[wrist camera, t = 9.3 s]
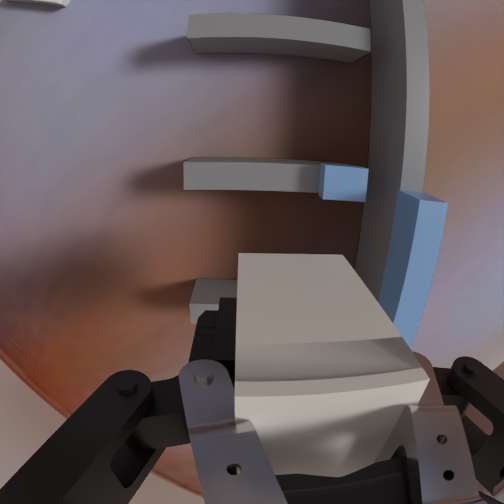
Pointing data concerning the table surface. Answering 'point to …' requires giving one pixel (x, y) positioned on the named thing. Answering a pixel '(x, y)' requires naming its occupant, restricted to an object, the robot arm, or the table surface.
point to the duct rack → (343, 174)
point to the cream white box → (318, 364)
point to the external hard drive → (47, 2)
